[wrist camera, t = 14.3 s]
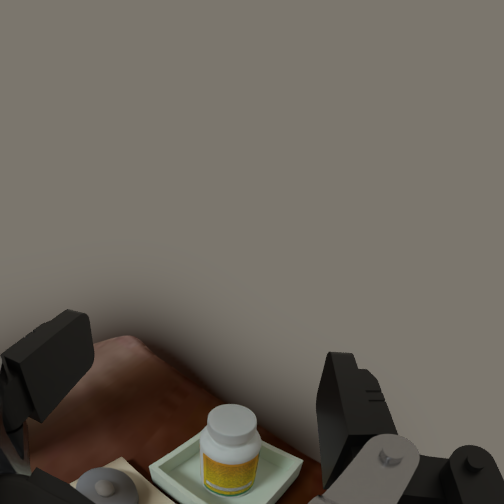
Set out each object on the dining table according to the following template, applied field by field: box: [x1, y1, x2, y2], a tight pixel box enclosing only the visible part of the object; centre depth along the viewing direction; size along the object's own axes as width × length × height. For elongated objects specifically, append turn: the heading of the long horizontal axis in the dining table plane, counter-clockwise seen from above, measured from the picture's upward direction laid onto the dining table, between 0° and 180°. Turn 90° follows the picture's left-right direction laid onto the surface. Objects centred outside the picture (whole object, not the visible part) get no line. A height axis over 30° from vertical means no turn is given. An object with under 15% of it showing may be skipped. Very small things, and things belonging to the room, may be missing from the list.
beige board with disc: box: [70, 457, 175, 504], centre depth 20 cm, size 9×9×3 cm
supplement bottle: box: [200, 404, 261, 498], centre depth 24 cm, size 5×5×10 cm
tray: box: [149, 431, 303, 504], centre depth 25 cm, size 11×11×3 cm
